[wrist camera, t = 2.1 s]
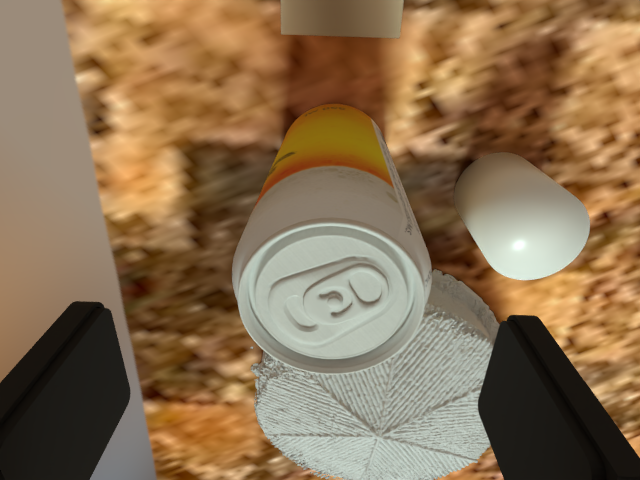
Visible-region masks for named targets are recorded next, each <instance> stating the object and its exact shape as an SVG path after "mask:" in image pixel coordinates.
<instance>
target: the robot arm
mask: <svg viewBox="0 0 640 480" xmlns="http://www.w3.org/2000/svg"><path fill="white" fill-rule="evenodd" d="M129 399H130V387H129V382H128V379H127V375H126V370H125V366H124V362H123V358H122V354H121V350H120V346H119V342H118V338H117V334H116V330H115V325H114V322H113V318H112V313H111V311H110V310H109V309H107V308H104V305H103V304H102V303H100V302H79V301H76V302H73V303H72V304H70V306H69V307H68V308H67V309H66V310H65V311H64V312H63V313H62V315H61V316H60V317H59V318H58V319H57V320H56V321H55V322H54V323H53V324H52V326H51V327H50V328H49V329H48V330H47V331H46V332H45V333H44V335H43V336H42V337H41V338H40V339H39V340H38V341H37V342H36V344H35V345H34V346H33V347H32V348H31V349H30V350H29V351H28V352H27V354H26V355H25V356H24V357H23V358H22V359H21V360H20V361H19V362H18V364H17V365H16V366H15V367H14V368H13V369H12V370H11V371H10V373H9V374H8V375H7V376H6V377H5V378H4V379H3V380H2V382H1V383H0V480H89V479H90V477H91V475H92V474H93V472H94V470H95V468H96V466H97V464H98V462H99V460H100V458H101V456H102V454H103V452H104V450H105V448H106V446H107V444H108V442H109V440H110V438H111V436H112V435H113V432H114V431H115V428H116V427H117V425H118V423H119V421H120V419H121V417H122V415H123V413H124V411H125V409H126V407H127V405H128V403H129ZM478 412H479V415H480V418H481V421H482V423H483V426H484V429H485V431H486V434H487V436H488V439H489V441H490V444H491V447H492V449H493V452H494V454H495V457H496V459H497V462H498V465H499V467H500V470H501V472H502V475H503V477H504V480H640V458H639V456H638V455H637V454H636V452H635V451H634V449H633V448H632V447H631V445H630V444H629V442H628V441H627V440H626V438H625V437H624V435H623V434H622V433H621V431H620V430H619V428H618V427H617V426H616V424H615V423H614V422H613V420H612V419H611V417H610V416H609V415H608V413H607V412H606V410H605V409H604V408H603V406H602V405H601V403H600V402H599V401H598V399H597V398H596V396H595V395H594V394H593V392H592V391H591V389H590V388H589V387H588V385H587V384H586V382H585V381H584V380H583V379H582V377H581V376H580V375H579V373H578V372H577V370H576V369H575V368H574V366H573V365H572V363H571V362H570V361H569V359H568V358H567V356H566V355H565V354H564V352H563V351H562V349H561V348H560V347H559V345H558V344H557V342H556V341H555V340H554V338H553V337H552V335H551V334H550V333H549V331H548V330H547V328H546V327H545V326H544V324H543V323H542V321H541V320H540V319H539V318H538V317H537V316H528V315H511V316H509V317H508V319H507V321H502V322H501V323H500V325H499V329H498V332H497V336H496V339H495V343H494V346H493V350H492V353H491V357H490V360H489V364H488V367H487V371H486V374H485V378H484V381H483V385H482V388H481V392H480V395H479V399H478Z"/></svg>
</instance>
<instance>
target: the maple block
mask: <svg viewBox="0 0 640 480" xmlns="http://www.w3.org/2000/svg"><path fill="white" fill-rule="evenodd" d="M403 2H404V0H281V34H285V35H315V36H344V37H374V38H400V30H401V21H402V11H403Z"/></svg>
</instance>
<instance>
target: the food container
mask: <svg viewBox="0 0 640 480" xmlns="http://www.w3.org/2000/svg"><path fill="white" fill-rule="evenodd" d="M499 325H500V324H499V323H498V322H497V321H496V318H495V316H494V313H493V312H492V311H491V310H489V306H488V305H486V304H485V303H484V302H483V300H482V298H481V297H479V296H478V295H477V294H476V293H475V292H473V291H472V290H471V289H470V288H469V287H467V286H466V285H465V284H464V283H463V282H462V281H457V280H456V279H455V278H454V277H453V276H451V275H449V274H445V275H444V276H443V275H442V271H438V270H437V269H434V270H433V273H432V284H431V290H430V294H429V297H428V301H427V303H426V305H425V308H424V314H423V317H422V321H421V323H420V325H419V328H418V330H417V331H416V333H415V335H414V336H413V338H412V339H411V340H410V341H409V343H408V344H407V345H406V346H405V347H404V348H403V349H402V350H401V351H400V352H398V353H397V354H396V355H395V356H393V357H392V358H390V359H389V360H387V361H385V362H383V363H381V364H379V365H377V366H375V367H372V368H370V369H367V370H363V371H360V372H355V373H349V374H340V375H326V374H316V373H310V372H306V371H302V370H298V369H296V368H293V367H290V366H288V365H286V364H284V363H282V362H280V361H278V360H276V359H275V358H273V357H272V356H270V355H269V354H268V353H266V352H265V351H263V356H262V359H261V360H262V362H261V363H260V364H259V365H258V364H257V363H255V364H253V366H251V371H253V373H255V375H256V376H257V377H258V376H259V380H258V379H257V380H256V381H257V383H256V388H257V389H258V390H257V392H258V393H257V396H256V394H255V396H256V397H257V402H254V403H255V404H254V405H255V406H254V407H255V412H256V415H257V419H258V421H259V422H258V423H259V424H260V427H262V429H263V431H264V434H265V436H267V439H270V441H273V444H276V447H278V448H279V449H280V450H281V451H282V454H283V456H284V454H285V456H286V457H288V458H289V460H290V459H292V461H293V460H295V463H297V466H299V465H300V466H301V467H304V465H306V467H308V468H312V470H315V471H318V472H321V473H320V474H318V473H317V472H315V473H314V475H315V474H317V476H321V475H322V473H323V474H326V473H327V475H328V474H329V475H332V476H333V475H334V476H337V477H340V478H344V479H343V480H345V479H347V480H422V479H423V480H434V479H433V478H435V479H437V478H438V476H439V478H441V477H442V475H443V476H446V475H447V474H449V473H450V472H453V470H454V471H457V469H458V470H461V469H462V467H463V468H464V467H465V465H467V466H469V463H472V462H475V463H477V462H478V460H477V459H478V458H479V456H481V455H482V454H481V453H484V450H487V447H489V445H490V441H489V439H488V436H487V434H486V431H485V429H484V426H483V423H482V421H481V418H480V415H479V412H478V399H479V395H480V392H481V388H482V385H483V381H484V378H485V374H486V371H487V367H488V364H489V360H490V357H491V353H492V350H493V346H494V343H495V339H496V336H497V332H498V329H499ZM251 348H252V349H253V347H251ZM254 381H255V380H254ZM254 400H256V399H254ZM256 403H257V404H256ZM273 444H272V445H273ZM283 452H284V453H283ZM293 462H294V461H293ZM298 463H299V464H298ZM300 463H302V465H301V464H300ZM306 467H304V469H303V470H305V469H306ZM310 473H312V472H310ZM325 476H326V475H323V476H322V477H321V478H323V477H324V478H325V479H328V478H329V477H331V476H328V477H325ZM333 478H336V477H333ZM329 480H330V479H329Z"/></svg>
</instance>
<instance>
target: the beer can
mask: <svg viewBox="0 0 640 480" xmlns="http://www.w3.org/2000/svg"><path fill="white" fill-rule="evenodd" d="M232 281H233V288H234V292H235V296H236V298H237V301H238V308H239V312H240V316H241V319H242V321H243V324H244V326H245V328H246V330H247V331H248V333H249V334H250V336H251V337H252V339H253V340H254V341H255V342H256V343H257V344H258V346H259V347H261V348H262V349H263V350H264V351H265V352H266V353H268V354H269V355H270V356H272V357H273V358H275V359H276V360H278V361H280V362H282V363H284V364H286V365H288V366H290V367H293V368H296V369H298V370H302V371H306V372H310V373H316V374H326V375H340V374H349V373H355V372H360V371H363V370H367V369H370V368H372V367H375V366H377V365H379V364H381V363H383V362H385V361H387V360H389V359H390V358H392V357H393V356H395V355H396V354H397V353H398V352H400V351H401V350H402V349H403V348H404V347H405V346H406V345H407V344H408V343H409V341H410V340H411V339H412V338H413V336H414V335H415V333H416V331H417V330H418V328H419V325H420V323H421V321H422V317H423V314H424V308H425V305H426V303H427V301H428V297H429V294H430V290H431V284H432V268H431V261H430V257H429V253H428V250H427V248H426V245H425V243H424V240H423V238H422V235H421V232H420V230H419V227H418V225H417V222H416V220H415V217H414V214H413V212H412V209H411V207H410V204H409V202H408V199H407V196H406V194H405V191H404V189H403V186H402V183H401V181H400V178H399V176H398V173H397V171H396V168H395V165H394V163H393V160H392V158H391V155H390V153H389V150H388V147H387V145H386V142H385V140H384V137H383V135H382V133H381V131H380V129H379V127H378V126H377V125H376V123H375V122H374V121H373V120H372V119H371V118H370V117H369V116H368V115H366V114H365V113H364V112H362V111H360V110H358V109H356V108H354V107H351V106H348V105H343V104H326V105H321V106H317V107H315V108H312V109H310V110H308V111H306V112H305V113H303V114H302V115H301V116H299V117H298V118H297V119H296V120H295V121H294V123H293V124H292V125H291V126H290V128H289V130H288V131H287V133H286V135H285V138H284V140H283V142H282V145H281V147H280V149H279V152H278V154H277V156H276V158H275V161H274V163H273V165H272V168H271V170H270V172H269V175H268V177H267V179H266V182H265V184H264V186H263V188H262V191H261V193H260V195H259V198H258V200H257V202H256V205H255V207H254V209H253V212H252V214H251V216H250V219H249V221H248V223H247V225H246V228H245V230H244V232H243V235H242V237H241V239H240V242H239V244H238V246H237V249H236V252H235V255H234V260H233V265H232Z"/></svg>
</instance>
